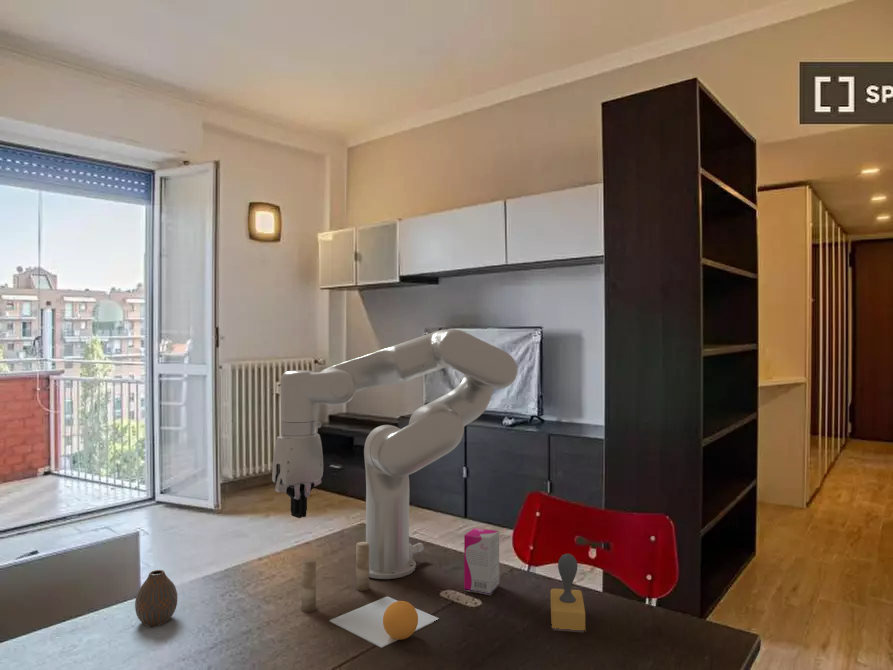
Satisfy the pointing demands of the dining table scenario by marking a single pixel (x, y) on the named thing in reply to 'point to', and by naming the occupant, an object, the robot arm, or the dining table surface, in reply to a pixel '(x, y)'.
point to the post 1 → (308, 585)
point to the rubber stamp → (567, 598)
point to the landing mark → (375, 622)
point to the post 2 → (362, 566)
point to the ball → (400, 620)
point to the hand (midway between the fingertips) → (298, 516)
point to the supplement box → (481, 560)
